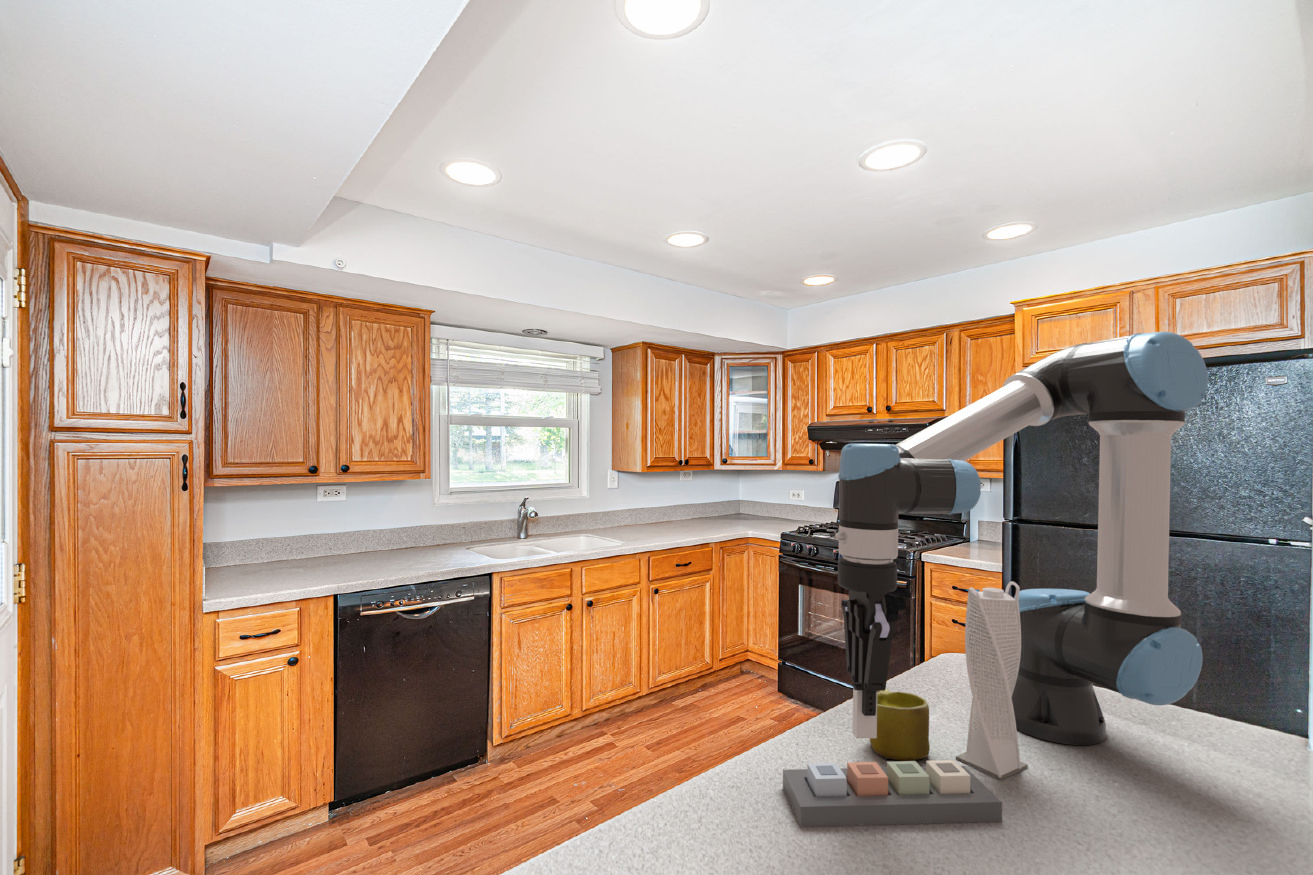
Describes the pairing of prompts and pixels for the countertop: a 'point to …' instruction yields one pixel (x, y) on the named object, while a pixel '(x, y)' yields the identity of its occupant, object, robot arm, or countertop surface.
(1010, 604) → the skyscraper
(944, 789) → the key ivory
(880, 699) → the mug
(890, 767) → the key sage
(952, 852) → the countertop surface
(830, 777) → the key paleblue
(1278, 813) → the countertop surface
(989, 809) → the keyguard frame
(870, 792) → the key terracotta
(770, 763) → the countertop surface
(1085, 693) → the robot arm
